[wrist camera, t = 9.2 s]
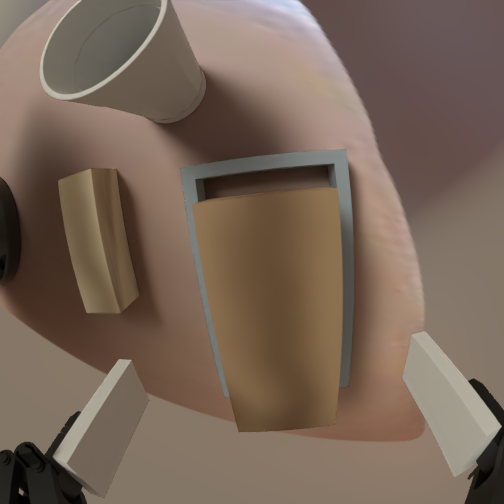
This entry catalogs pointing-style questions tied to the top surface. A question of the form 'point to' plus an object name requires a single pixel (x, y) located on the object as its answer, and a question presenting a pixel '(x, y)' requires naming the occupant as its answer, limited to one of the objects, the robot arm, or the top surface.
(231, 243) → the board
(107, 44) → the cup
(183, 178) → the frame
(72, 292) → the top surface
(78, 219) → the block
